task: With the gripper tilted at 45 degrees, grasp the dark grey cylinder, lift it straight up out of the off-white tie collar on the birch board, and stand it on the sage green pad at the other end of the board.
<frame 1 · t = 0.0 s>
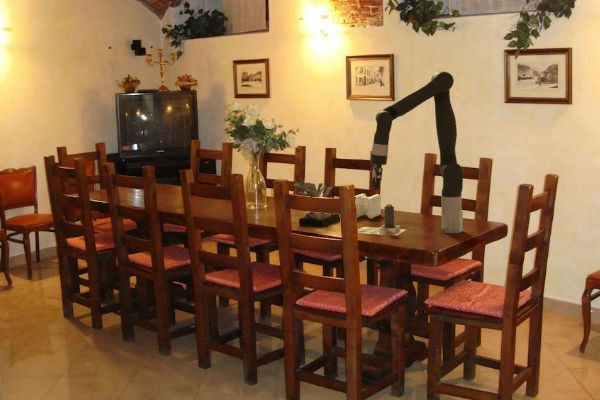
hand: (375, 188, 349), 22 cm above the table, tool pointing down, fingers open, 8 cm apart
dark grey cylinder: (389, 231, 353), point 1 cm above the table, touching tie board
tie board: (379, 233, 356), on the table
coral: (314, 223, 386), on the table
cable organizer: (367, 217, 399), on the table
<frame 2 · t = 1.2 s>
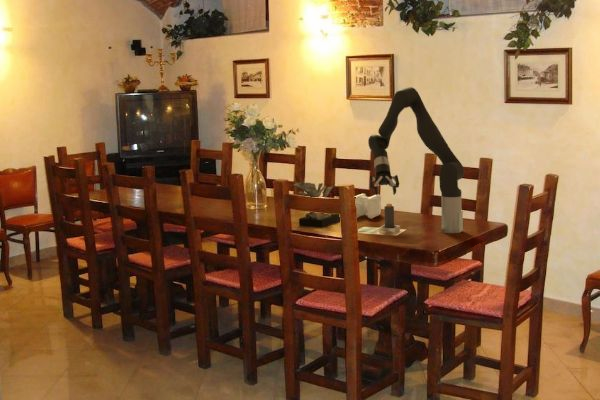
hand: (385, 194, 362), 17 cm above the table, tool tilted 45°, fingers open, 8 cm apart
nothing on the table moved.
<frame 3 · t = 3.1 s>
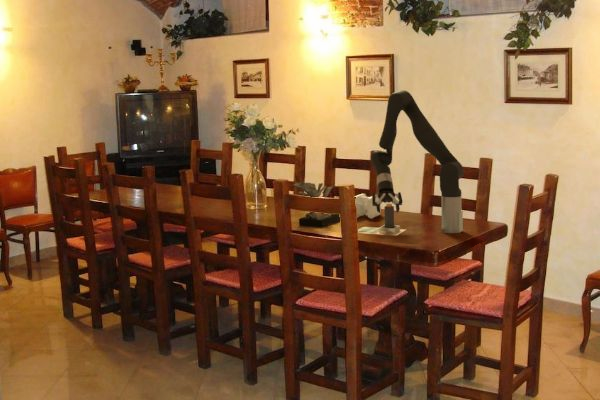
hand: (388, 211, 354), 10 cm above the table, tool tilted 45°, fingers open, 8 cm apart
nothing on the table moved.
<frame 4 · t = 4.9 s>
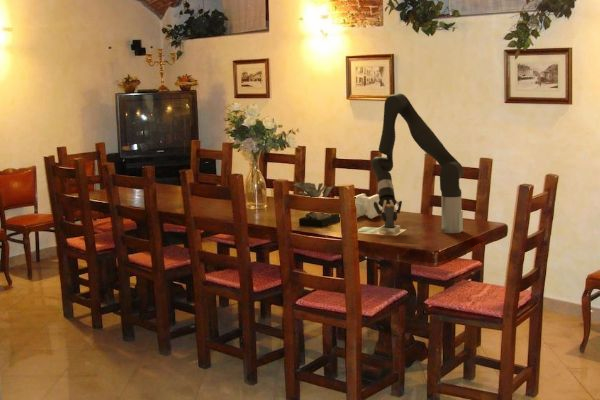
hand: (389, 220, 351), 7 cm above the table, tool tilted 45°, fingers closed on dark grey cylinder, 4 cm apart
dark grey cylinder: (389, 231, 353), point 1 cm above the table, touching gripper, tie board
everything else where it was.
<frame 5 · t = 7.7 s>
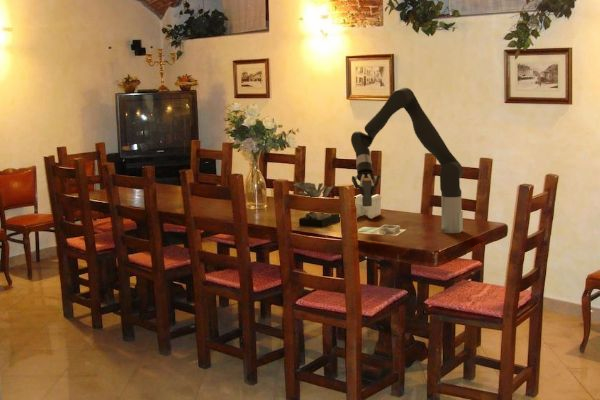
hand: (367, 194, 354), 19 cm above the table, tool tilted 45°, fingers closed on dark grey cylinder, 4 cm apart
dark grey cylinder: (367, 205, 356), point 13 cm above the table, touching gripper
everything else where it was.
when the fingers open (9 cm above the table, at t = 10.5 s): dark grey cylinder drops 1 cm, resting on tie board.
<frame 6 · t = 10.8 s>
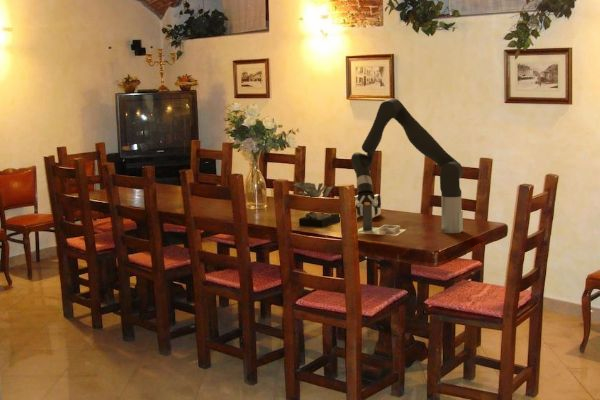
hand: (367, 214, 355), 9 cm above the table, tool tilted 45°, fingers open, 7 cm apart
dark grey cylinder: (367, 229, 358), point 1 cm above the table, touching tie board
everything else where it was.
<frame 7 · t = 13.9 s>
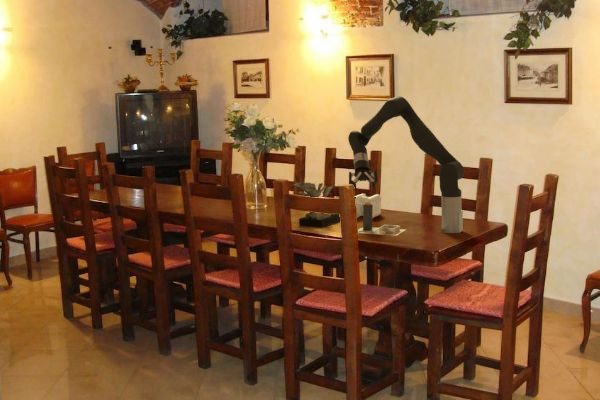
hand: (364, 189, 367), 19 cm above the table, tool tilted 45°, fingers open, 8 cm apart
nothing on the table moved.
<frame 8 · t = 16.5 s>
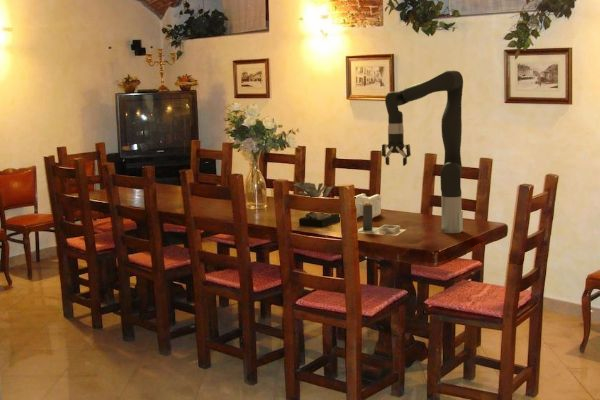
hand: (396, 165, 370), 30 cm above the table, tool pointing down, fingers open, 8 cm apart
nothing on the table moved.
at the end: dark grey cylinder 0.1 cm from the target spot on the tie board, point 1.5 cm above the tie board's base; dark grey cylinder tilted 2°; the gripper is holding nothing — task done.
